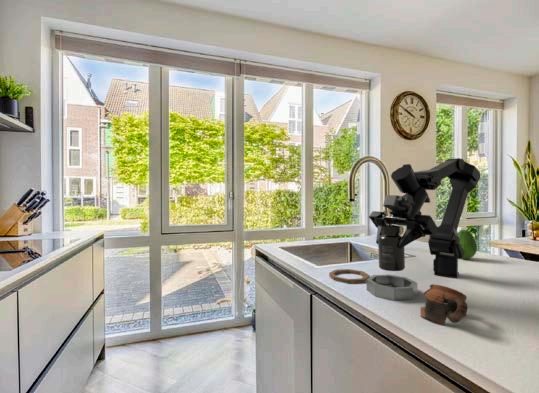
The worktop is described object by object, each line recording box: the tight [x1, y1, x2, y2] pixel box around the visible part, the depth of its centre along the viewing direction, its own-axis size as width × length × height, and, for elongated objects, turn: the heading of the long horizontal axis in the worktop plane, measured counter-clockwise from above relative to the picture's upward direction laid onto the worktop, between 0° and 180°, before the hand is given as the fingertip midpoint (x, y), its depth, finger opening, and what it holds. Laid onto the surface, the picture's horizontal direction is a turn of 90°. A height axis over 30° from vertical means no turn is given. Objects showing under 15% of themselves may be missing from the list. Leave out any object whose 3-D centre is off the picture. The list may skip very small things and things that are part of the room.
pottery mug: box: [420, 283, 469, 326], centre depth 67 cm, size 12×10×8 cm
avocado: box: [457, 229, 478, 260], centre depth 122 cm, size 8×8×12 cm
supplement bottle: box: [377, 224, 406, 272], centre depth 84 cm, size 7×7×12 cm
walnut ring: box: [328, 268, 371, 284], centre depth 98 cm, size 12×12×1 cm
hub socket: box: [366, 274, 418, 301], centre depth 84 cm, size 12×12×3 cm
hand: (387, 245), depth 84 cm, fingers closed on supplement bottle, 7 cm apart
